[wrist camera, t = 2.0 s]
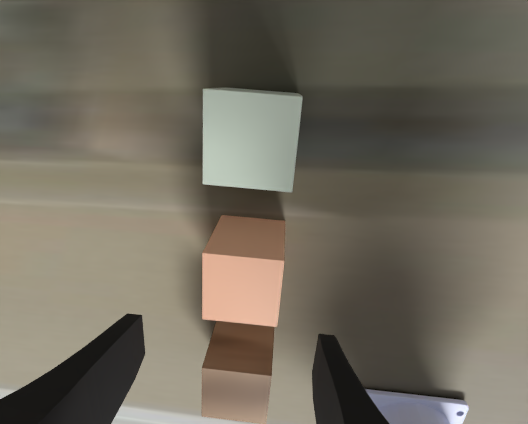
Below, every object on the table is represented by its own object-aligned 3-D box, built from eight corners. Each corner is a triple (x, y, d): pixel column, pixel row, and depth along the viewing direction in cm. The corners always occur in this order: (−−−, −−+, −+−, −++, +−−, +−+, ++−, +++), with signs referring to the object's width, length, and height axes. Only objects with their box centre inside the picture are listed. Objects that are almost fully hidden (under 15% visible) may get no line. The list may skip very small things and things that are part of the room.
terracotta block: (279, 275, 22) (277, 327, 17) (220, 269, 22) (202, 319, 17) (285, 220, 20) (284, 261, 16) (221, 214, 20) (202, 253, 16)
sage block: (291, 166, 19) (292, 192, 14) (223, 159, 19) (202, 184, 15) (298, 93, 18) (302, 96, 13) (225, 87, 18) (203, 88, 13)
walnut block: (270, 359, 25) (266, 424, 20) (218, 353, 25) (201, 416, 20) (275, 317, 23) (271, 376, 18) (219, 311, 23) (201, 367, 19)
